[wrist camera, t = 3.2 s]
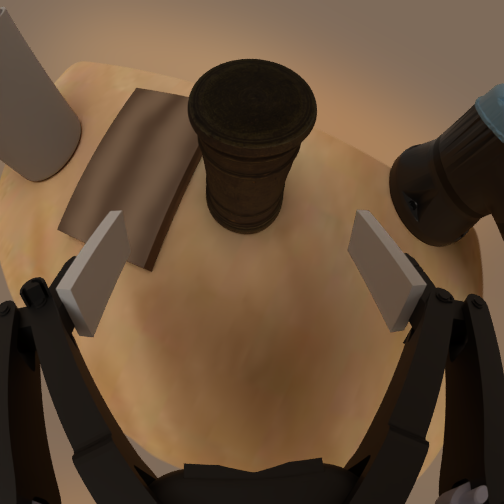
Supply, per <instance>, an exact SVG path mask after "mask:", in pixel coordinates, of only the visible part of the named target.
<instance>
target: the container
mask: <svg viewBox="0 0 504 504" xmlns="http://www.w3.org/2000/svg"><path fill="white" fill-rule="evenodd" d="M316 116H317V105H316V100H315V97H314V94H313V92H312V90H311V88H310V87H309V85H308V84H307V83H306V82H305V80H304V79H302V78H301V77H300V76H299V75H298V74H297V73H295V72H293V71H292V70H291V69H289V68H287V67H285V66H283V65H280V64H277V63H274V62H270V61H266V60H260V59H241V60H234V61H229V62H226V63H223V64H220V65H218V66H216V67H214V68H212V69H210V70H209V71H207V72H206V73H205V74H204V75H203V76H201V77H200V78H199V80H198V81H197V82H196V83H195V85H194V87H193V88H192V91H191V93H190V96H189V100H188V118H189V121H190V124H191V126H192V128H193V130H194V131H195V133H196V134H197V139H198V145H199V148H200V150H201V152H202V155H203V160H204V164H205V169H206V184H207V185H206V200H207V205H208V208H209V210H210V212H211V214H212V216H213V217H214V218H215V220H216V221H217V222H218V223H219V224H221V225H222V226H223V227H225V228H227V229H229V230H231V231H234V232H238V233H244V234H249V233H255V232H258V231H261V230H263V229H265V228H266V227H268V226H269V225H270V224H271V223H272V222H273V221H274V220H275V219H276V217H277V216H278V214H279V212H280V209H281V205H282V200H283V191H284V187H285V181H286V178H287V175H288V173H289V171H290V169H291V166H292V163H293V161H294V159H295V158H296V156H297V154H298V152H299V149H300V145H301V142H302V141H303V140H304V139H305V138H306V137H307V136H308V135H309V134H310V132H311V130H312V129H313V126H314V124H315V121H316Z"/></svg>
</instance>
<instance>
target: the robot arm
mask: <svg viewBox="0 0 504 504" xmlns="http://www.w3.org/2000/svg"><path fill="white" fill-rule="evenodd" d="M390 191H391V196H392V200H393V203H394V205H395V208H396V210H397V212H398V214H399V216H400V218H401V220H402V221H403V223H404V224H405V225H406V227H407V228H408V229H409V230H410V231H411V232H412V233H413V234H414V235H415V236H416V237H417V238H418V239H420V240H421V241H423V242H425V243H427V244H429V245H433V246H446V245H449V244H451V243H454V242H457V241H458V240H460V239H461V238H463V237H464V236H465V235H466V233H467V232H468V230H469V229H470V228H471V227H473V226H474V224H476V223H477V222H478V221H479V219H480V218H482V217H484V216H486V215H489V214H492V216H493V218H494V220H495V222H496V224H497V226H498V229H499V231H500V233H501V236H502V238H503V240H504V84H499V85H496V86H495V87H494V88H492V89H491V90H490V91H489V92H488V93H486V94H485V95H484V96H481V97H479V98H478V99H477V100H476V102H475V104H474V105H473V106H472V107H471V108H470V109H469V110H468V111H467V112H466V113H465V114H464V115H463V116H462V117H461V118H459V120H457V121H456V122H455V123H454V124H453V125H452V126H451V127H450V128H448V129H447V130H446V131H445V132H444V133H443V134H442V135H440V136H439V137H438V138H437V139H435V140H432V141H430V142H427V143H424V144H419V145H415V146H412V147H410V148H408V149H406V150H405V151H404V152H403V153H402V154H401V155H400V156H399V157H398V158H397V159H396V160H395V162H394V164H393V166H392V168H391V172H390ZM348 252H349V253H350V255H351V257H352V259H353V261H354V262H355V264H356V266H357V268H358V270H359V272H360V273H361V275H362V277H363V279H364V281H365V283H366V285H367V286H368V288H369V290H370V292H371V294H372V296H373V298H374V300H375V302H376V304H377V306H378V308H379V310H380V312H381V314H382V316H383V318H384V320H385V322H386V324H387V326H388V328H389V330H390V332H396V331H402V330H404V329H405V327H406V325H407V323H408V322H410V324H411V326H412V328H411V330H410V332H409V333H408V335H407V337H406V339H405V340H404V342H403V343H404V344H405V346H404V349H403V352H402V354H401V357H400V360H399V362H398V365H397V367H396V370H395V373H394V375H393V377H392V380H391V382H390V385H389V387H388V389H387V392H386V394H385V396H384V398H383V401H382V403H381V405H380V407H379V409H378V411H377V413H376V415H375V417H374V419H373V421H372V423H371V425H370V427H369V429H368V431H367V433H366V435H365V437H364V439H363V441H362V442H361V444H360V446H359V448H358V449H357V451H356V452H355V454H354V455H353V456H352V458H351V459H350V460H349V461H348V463H347V464H346V466H345V467H344V468H342V467H339V466H335V465H331V464H324V463H323V462H322V458H316V459H309V460H302V461H294V462H288V463H285V464H282V465H279V466H276V467H272V468H269V469H266V470H262V471H259V472H247V471H242V470H237V469H233V468H228V467H224V466H220V465H200V464H184V469H182V470H177V471H174V472H170V473H168V474H165V475H163V476H161V477H159V478H157V477H156V476H155V474H154V473H153V472H152V471H151V470H150V468H149V467H148V466H147V465H146V464H145V463H144V462H143V460H142V459H141V458H140V457H139V456H138V454H137V453H136V451H135V450H134V448H133V447H132V445H131V444H130V442H129V441H128V439H127V438H126V436H125V435H124V433H123V431H122V430H121V428H120V427H119V425H118V423H117V422H116V420H115V418H114V417H113V415H112V413H111V412H110V410H109V408H108V406H107V405H106V403H105V401H104V399H103V397H102V396H101V394H100V392H99V390H98V388H97V386H96V384H95V382H94V380H93V378H92V376H91V374H90V372H89V370H88V368H87V366H86V364H85V361H84V359H83V357H82V355H81V353H80V350H79V348H78V346H77V343H76V341H75V339H74V337H73V335H72V332H73V329H74V327H75V329H76V330H77V332H78V334H79V336H86V337H94V334H95V332H96V329H97V327H98V324H99V322H100V319H101V317H102V314H103V312H104V310H105V307H106V305H107V302H108V300H109V298H110V296H111V293H112V291H113V289H114V287H115V284H116V282H117V280H118V278H119V276H120V273H121V271H122V269H123V267H124V265H125V263H126V261H127V259H128V257H129V255H130V253H131V250H130V246H129V242H128V237H127V232H126V228H125V223H124V218H123V212H122V210H121V211H110V212H109V213H108V215H107V216H106V217H105V218H104V220H103V221H102V222H101V224H100V225H99V226H98V228H97V229H96V230H95V232H94V233H93V234H92V236H91V237H90V238H89V240H88V241H87V243H86V244H85V245H84V247H83V248H82V250H81V251H80V253H79V254H78V255H77V256H73V257H72V258H71V259H69V260H68V261H67V262H66V263H65V264H64V266H63V267H62V269H61V271H60V272H59V273H58V276H56V278H55V279H54V281H53V282H52V284H51V285H50V287H49V289H48V286H47V284H46V282H45V280H44V279H43V278H41V277H37V278H33V279H30V280H29V281H27V282H26V283H25V284H24V285H23V286H22V288H21V289H20V295H21V297H22V299H23V301H24V303H25V305H26V306H27V307H23V308H17V306H16V305H15V303H14V302H13V301H5V302H3V303H1V304H0V504H61V497H60V493H59V489H58V485H57V481H56V477H55V473H54V469H53V465H52V460H51V456H50V451H49V446H48V440H47V434H46V428H45V421H44V412H43V404H42V392H41V375H40V364H41V368H42V371H43V374H44V377H45V380H46V384H47V387H48V390H49V393H50V395H51V398H52V401H53V404H54V406H55V409H56V411H57V414H58V416H59V419H60V421H61V424H62V426H63V428H64V431H65V433H66V435H67V437H68V439H69V442H70V444H71V446H72V448H73V450H74V455H73V456H72V460H73V463H74V465H75V467H76V469H77V471H78V473H79V475H80V477H81V478H82V480H83V482H84V484H85V485H86V487H87V489H88V490H89V492H90V493H91V495H92V497H93V499H94V500H95V502H96V503H97V504H405V502H406V500H407V498H408V496H409V494H410V492H411V490H412V488H413V486H414V484H415V482H416V479H417V477H418V475H419V472H420V470H421V467H422V465H423V463H424V460H425V457H426V455H427V452H428V448H429V442H428V441H426V434H427V431H428V428H429V425H430V422H431V419H432V416H433V412H434V409H435V406H436V402H437V398H438V395H439V391H440V387H441V383H442V379H443V374H444V370H445V377H446V410H445V431H444V443H443V454H442V462H441V469H440V478H439V497H438V499H437V500H436V502H435V504H504V373H503V367H502V362H501V357H500V352H499V347H498V343H497V339H496V335H495V331H494V327H493V323H492V319H491V316H490V312H489V309H488V306H487V304H486V302H485V301H484V300H483V298H481V297H480V296H478V295H475V294H469V295H468V296H467V298H466V300H465V301H464V302H462V301H457V300H454V298H453V296H452V295H451V294H450V293H449V292H448V291H446V290H445V289H442V288H436V287H435V286H434V284H433V283H432V281H431V280H430V279H429V277H428V276H427V275H426V273H425V272H423V269H422V268H421V267H419V264H418V263H417V262H416V260H415V259H414V258H413V257H411V256H410V255H409V254H407V253H403V252H402V250H401V249H400V248H399V247H398V245H397V244H396V243H395V242H394V240H393V239H392V238H391V237H390V235H389V234H388V233H387V232H386V230H385V229H384V228H383V227H382V226H381V224H380V223H379V222H378V221H377V220H376V218H375V217H374V216H373V215H372V214H371V213H370V211H369V210H357V211H356V216H355V221H354V225H353V230H352V234H351V239H350V243H349V247H348Z"/></svg>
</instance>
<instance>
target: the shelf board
mask: <svg viewBox="0 0 504 504" xmlns="http://www.w3.org/2000/svg"><path fill="white" fill-rule="evenodd" d="M188 100H189V97H185V96H180V95H175V94H170V93H164V92H159V91H153V90H147V89H140V88H136V89H135V91H134V92H133V93H132V95H131V96H130V98H129V99H128V100H127V102H126V103H125V105H124V106H123V108H122V109H121V111H120V112H119V114H118V115H117V117H116V118H115V120H114V121H113V123H112V124H111V126H110V127H109V129H108V131H107V132H106V134H105V135H104V137H103V139H102V140H101V142H100V144H99V146H98V147H97V149H96V151H95V152H94V154H93V156H92V158H91V160H90V161H89V163H88V165H87V167H86V169H85V171H84V173H83V175H82V177H81V179H80V180H79V182H78V184H77V187H76V189H75V191H74V193H73V195H72V197H71V199H70V201H69V203H68V206H67V208H66V210H65V212H64V215H63V217H62V219H61V222H60V224H59V227H58V229H57V230H59V231H61V232H63V233H65V234H68V235H70V236H72V237H74V238H76V239H78V240H80V241H82V242H85V243H87V241H88V240H89V238H90V237H91V236H92V234H93V233H94V232H95V230H96V229H97V228H98V226H99V225H100V224H101V222H102V221H103V220H104V218H105V217H106V216H107V215H108V213H109V212H110V211H121V210H122V212H123V218H124V223H125V228H126V232H127V237H128V242H129V246H130V250H131V253H130V255H129V257H128V259H127V261H128V262H130V263H132V264H135V265H137V266H139V267H142V268H144V269H147V270H149V271H151V272H152V269H153V266H154V264H155V261H156V259H157V256H158V254H159V251H160V248H161V246H162V244H163V241H164V239H165V236H166V234H167V231H168V229H169V227H170V224H171V222H172V220H173V217H174V215H175V213H176V210H177V208H178V206H179V204H180V201H181V199H182V197H183V195H184V192H185V190H186V188H187V186H188V184H189V182H190V179H191V177H192V175H193V173H194V171H195V169H196V167H197V165H198V163H199V161H200V159H201V157H202V152H201V150H200V148H199V145H198V139H197V134H196V133H195V131H194V130H193V128H192V126H191V124H190V121H189V118H188Z"/></svg>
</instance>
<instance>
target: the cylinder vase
mask: <svg viewBox="0 0 504 504" xmlns="http://www.w3.org/2000/svg"><path fill="white" fill-rule="evenodd" d="M80 134H81V125H80V121H79V119H78V117H77V116H76V114H75V113H74V112H73V110H72V109H71V107H70V106H69V105H68V103H67V102H66V100H65V99H64V98H63V96H62V95H61V93H60V92H59V91H58V89H57V88H56V86H55V85H54V83H53V82H52V81H51V79H50V78H49V76H48V75H47V73H46V72H45V70H44V69H43V67H42V66H41V64H40V63H39V61H38V60H37V59H36V57H35V55H34V54H33V52H32V51H31V49H30V47H29V46H28V44H27V43H26V41H25V40H24V38H23V36H22V35H21V33H20V31H19V30H18V28H17V27H16V25H15V23H14V22H13V20H12V18H11V17H10V15H9V13H8V12H7V10H6V8H5V7H1V8H0V160H2V161H3V162H4V163H5V164H7V165H8V166H9V167H11V168H12V169H14V170H15V171H16V172H18V173H19V174H20V175H22V176H23V177H25V178H26V179H28V180H30V181H41V180H44V179H47V178H49V177H50V176H52V175H54V174H55V173H56V172H58V171H59V170H60V169H61V168H62V167H63V166H64V165H65V164H66V163H67V161H68V160H69V159H70V157H71V156H72V154H73V153H74V151H75V149H76V147H77V144H78V142H79V139H80Z"/></svg>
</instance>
